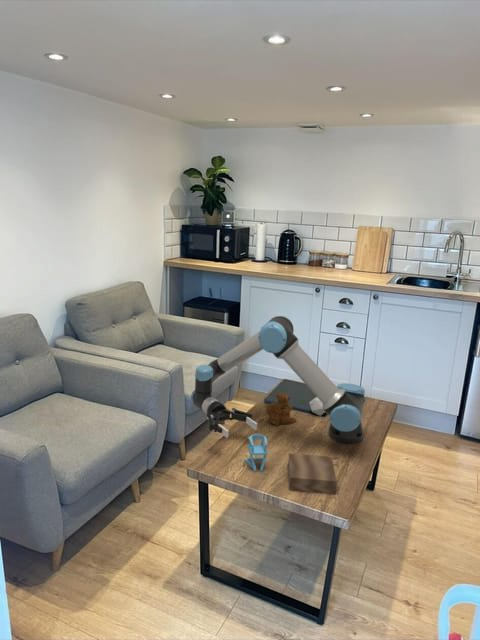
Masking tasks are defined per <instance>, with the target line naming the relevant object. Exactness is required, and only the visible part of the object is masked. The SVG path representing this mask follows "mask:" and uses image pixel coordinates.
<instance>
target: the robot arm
mask: <svg viewBox="0 0 480 640" xmlns="http://www.w3.org/2000/svg"><path fill="white" fill-rule="evenodd" d="M262 351H265V352H267V353H271V354H272V355H273V356H274V357H276V359H279V360H283V361H284V362H285V363H286V365H288V366H289V368H290V369H291V370H292V371H293V372H294V373H295V375H297V377H298V378H299V379H300V380H301V381H302V382H303V383H304V384H305V385H306V387H307V388H308V389H309V390H310V391H311V392H312V393H313V394H314V395H315V396H316V397H318V398H319V400H320V401H321V402H322V403H323V409H324V411H325V414H327V415H328V416H329V421H330V424H329V426H328V428H327V429H328V430H327V434H328V436H329V437H330V438H331V439H333V440H335V441H336V442H340V443H343V444H358V443H361V441H363V440H364V433H365V432H364V428H363V424H362V415H363V408H364V401H365V400H364V399H365V395H366V394H365V390H366V389H365V388H364V387H362V386H360V385H358V384H354V383H344V382H343V383H339V384H338V385H336V384H335V383H334V382H333V381H332V380H331V379H330V377H328V376H327V374H325V373H324V371H323V370H322V369H321V368H320V366H318V365H317V364H316V363H315V361H314V360H313V359H312V358H311V357H310V356H309V355H308V354H307V353H306V351H305V350H304V349H303V348H302V347H301V346H300V345H299V338H298V337H297V336H296V335H295V334H294V324H293V322H292V321H291V320H290V319H289V318H288V317H286V316H282V315H275V316H274V317H272V318H270V320H268V321H267V322H266V323H265V324H263V326H262V327H260V331H257V332H256V333H254V334H253V335H252V336H250V337H249V338H247V339H246V340H243V341H242V342H241V343H239V344H238V345H236V346H234V347H233V348H232V349H230V350H228V351H226V352H225V353H224V354H222V355H220V356H219V357H217V358H216V359H214V360H212V361H211V362H209V363H208V364H201V365H198V366H197V367H196V369H195V374H194V390H193V391H192V393H191V394H190V396H189V397H190V401H191V403H192V404H193V405H194V406H195V407H196V408H198V409H200V411H202V412H203V413H205V415H206V419H205V420H206V421H207V422H208V423H207V424H208V429H209V431H211V432H212V431H213V432H214V433H220V434H221V435H222V436H223V437H225V438H226V439H227V438H229V432H230V431H229V430H228V429H227V428H226V427H224V426H223V425H222V424H220V423H221V422H224V421H227V420H228V421H240V422H245V424H247V425H248V426H249V427H250V428H252V429H254V430H255V431H257V429H258V422H257V421H255V419H253V413H248V412H245V411H242V410H240V409H239V410H238V409H236V408H235V407H233V408H232V409H231V410H230V409H227V407H226V405H224V404H223V403H221V402H220V401H219V400H218V399H216V398H215V397H214V396H212V395H213V383H214V382H215V381H216V380H217V379H219V378H220V377H221V376H223V375H225V374H226V373H227V372H229V371H231V370H232V369H233V368H235V367H237V366H239V365H241V364H242V363H244V362H245V361H247V360H248V359H250V358H252V357H254V356H255V355H257V354H258V353H260V352H262ZM213 421H215V422H214V424H213Z"/></svg>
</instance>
